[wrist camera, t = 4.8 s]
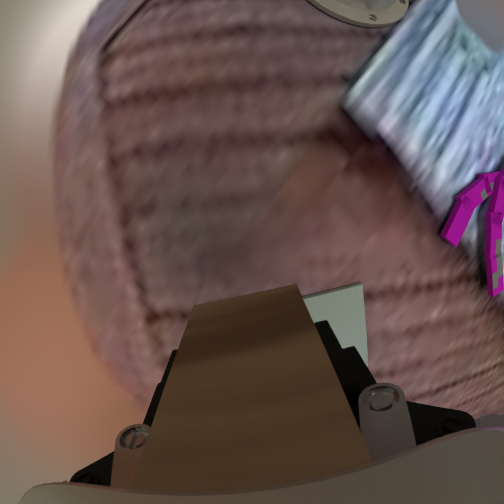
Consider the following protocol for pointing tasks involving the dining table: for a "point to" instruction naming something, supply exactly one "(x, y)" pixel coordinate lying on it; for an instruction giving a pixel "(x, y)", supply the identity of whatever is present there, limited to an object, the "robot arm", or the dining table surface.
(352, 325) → the mat
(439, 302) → the dining table surface
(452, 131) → the dining table surface
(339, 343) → the robot arm
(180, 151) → the dining table surface
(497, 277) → the toy
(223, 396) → the walnut block
